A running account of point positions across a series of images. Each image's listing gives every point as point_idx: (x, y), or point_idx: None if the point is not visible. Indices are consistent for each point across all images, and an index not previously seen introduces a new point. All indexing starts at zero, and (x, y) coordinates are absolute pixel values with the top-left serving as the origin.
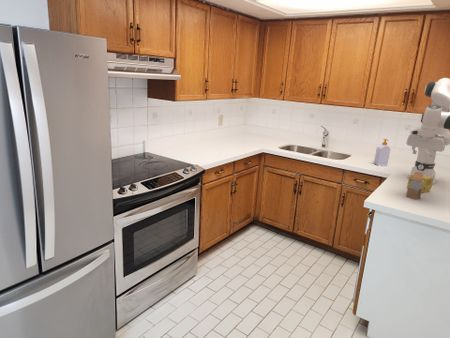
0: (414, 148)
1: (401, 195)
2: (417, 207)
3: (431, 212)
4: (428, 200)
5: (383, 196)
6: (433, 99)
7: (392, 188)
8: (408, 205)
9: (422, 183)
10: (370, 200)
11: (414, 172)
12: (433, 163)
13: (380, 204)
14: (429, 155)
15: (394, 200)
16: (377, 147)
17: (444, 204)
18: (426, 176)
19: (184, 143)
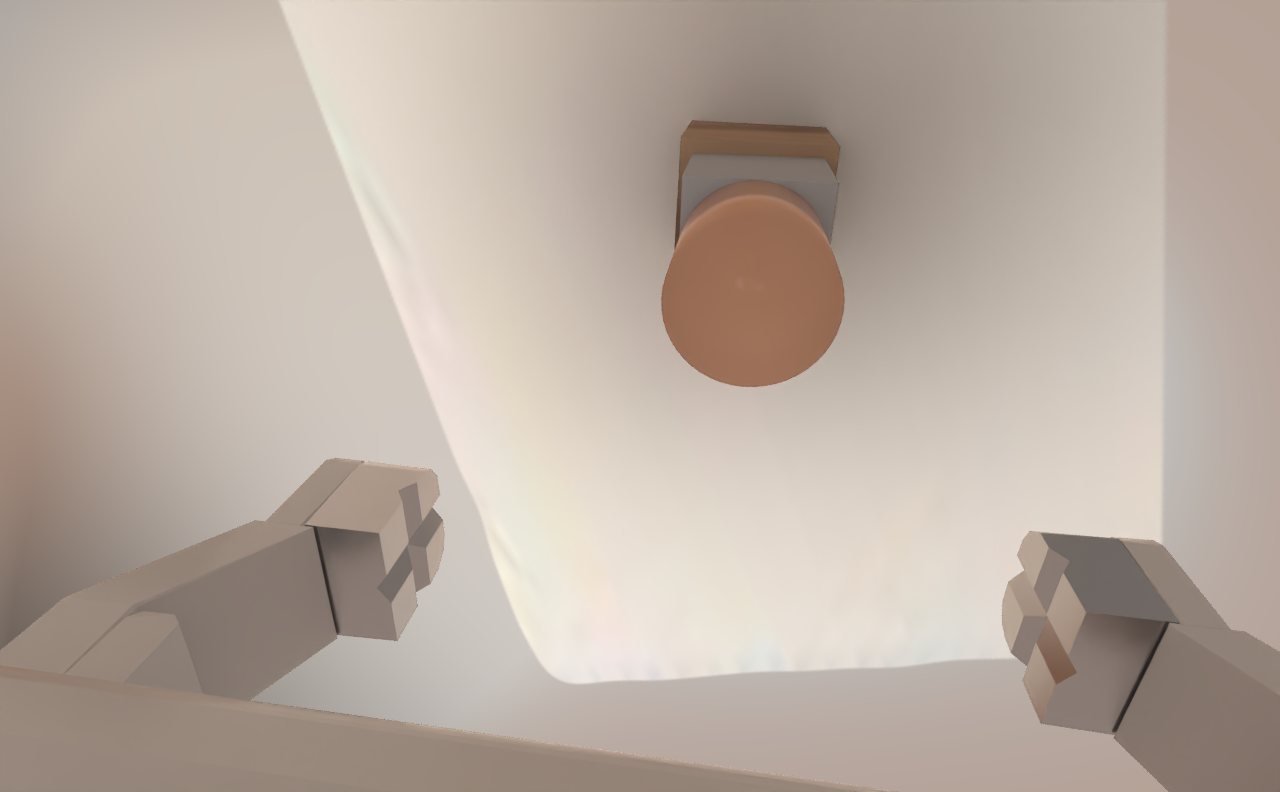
0: (177, 612)
1: (632, 253)
2: (887, 498)
3: (1027, 522)
4: (937, 121)
5: (541, 467)
6: None
7: (423, 45)
8: (805, 514)
9: (834, 176)
10: (540, 650)
11: (670, 328)
12: None
13: (634, 671)
14: (1023, 679)
15: (660, 489)
16: None
17: (1151, 86)
18: None
19: None
